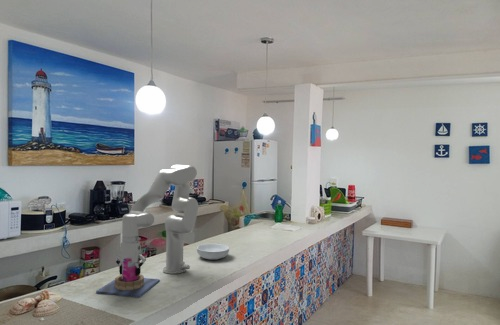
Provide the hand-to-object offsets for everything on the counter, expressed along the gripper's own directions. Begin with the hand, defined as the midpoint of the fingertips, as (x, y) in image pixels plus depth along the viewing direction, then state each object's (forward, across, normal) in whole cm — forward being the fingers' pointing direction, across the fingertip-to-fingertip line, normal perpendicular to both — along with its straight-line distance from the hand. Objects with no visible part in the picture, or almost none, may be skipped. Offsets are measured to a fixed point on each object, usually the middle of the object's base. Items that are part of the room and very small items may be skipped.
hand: (129, 274), depth 182 cm
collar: (+6, 0, 0) cm, 6 cm away
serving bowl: (+7, -26, -59) cm, 65 cm away
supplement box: (+3, 0, 0) cm, 3 cm away
